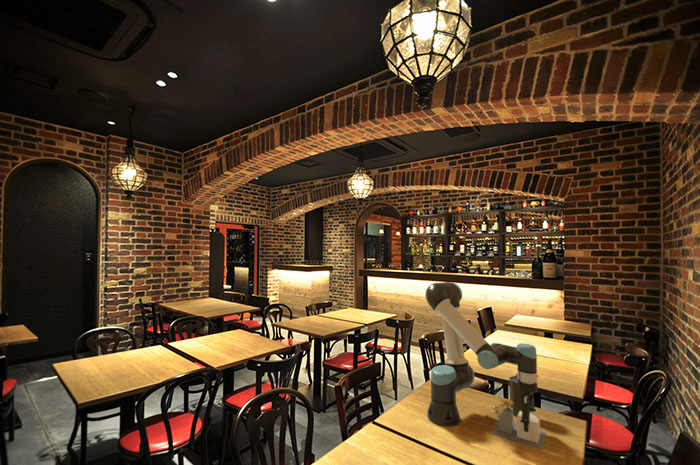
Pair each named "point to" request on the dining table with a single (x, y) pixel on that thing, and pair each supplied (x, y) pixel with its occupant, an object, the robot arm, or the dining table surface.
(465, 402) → the dining table surface
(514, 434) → the latch base
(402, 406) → the dining table surface
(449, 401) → the robot arm
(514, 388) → the canister
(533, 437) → the cover
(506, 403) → the latch bar
